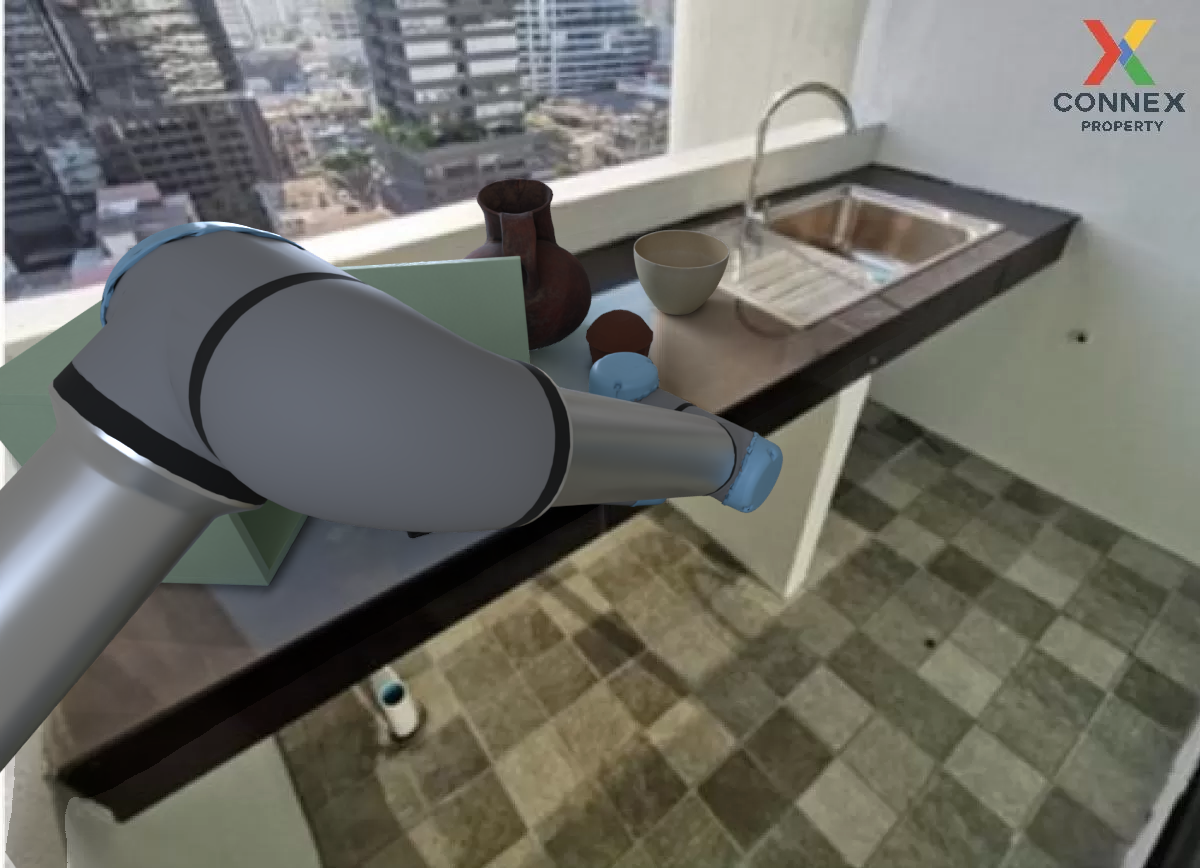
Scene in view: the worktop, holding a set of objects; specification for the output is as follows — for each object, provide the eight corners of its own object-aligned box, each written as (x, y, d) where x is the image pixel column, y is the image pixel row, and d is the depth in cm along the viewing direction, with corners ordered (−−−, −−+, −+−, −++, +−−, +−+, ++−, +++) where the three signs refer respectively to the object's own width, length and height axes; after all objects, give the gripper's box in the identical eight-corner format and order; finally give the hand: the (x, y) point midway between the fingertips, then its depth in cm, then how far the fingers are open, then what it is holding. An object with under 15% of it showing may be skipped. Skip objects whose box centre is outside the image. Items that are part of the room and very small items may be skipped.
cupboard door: (364, 412, 94) (312, 250, 78) (533, 398, 97) (518, 238, 80) (356, 440, 89) (299, 272, 72) (536, 424, 91) (520, 258, 75)
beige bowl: (621, 320, 117) (622, 260, 109) (643, 281, 130) (646, 225, 122) (714, 333, 113) (722, 272, 105) (727, 292, 126) (735, 234, 118)
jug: (443, 369, 104) (413, 224, 88) (473, 302, 123) (453, 174, 107) (588, 372, 103) (584, 226, 87) (595, 304, 122) (593, 175, 106)
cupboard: (352, 439, 89) (293, 269, 73) (268, 585, 69) (160, 396, 52) (233, 436, 90) (148, 268, 73) (115, 581, 69) (-40, 393, 53)
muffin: (590, 349, 108) (588, 298, 102) (651, 351, 108) (654, 300, 101) (583, 386, 99) (581, 333, 93) (650, 389, 98) (653, 335, 92)
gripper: (530, 573, 66) (341, 568, 67) (553, 432, 86) (406, 429, 87) (524, 527, 62) (321, 521, 63) (550, 388, 81) (395, 385, 82)
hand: (370, 468), depth 75 cm, fingers open, 13 cm apart
